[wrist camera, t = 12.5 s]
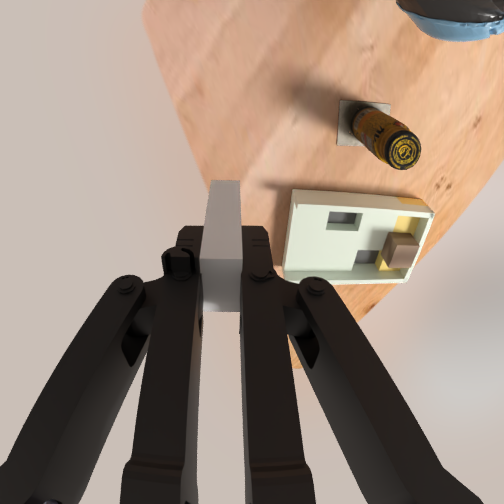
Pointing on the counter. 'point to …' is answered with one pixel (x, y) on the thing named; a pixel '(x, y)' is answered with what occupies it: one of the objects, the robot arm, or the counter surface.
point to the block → (399, 250)
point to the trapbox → (349, 235)
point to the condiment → (377, 133)
